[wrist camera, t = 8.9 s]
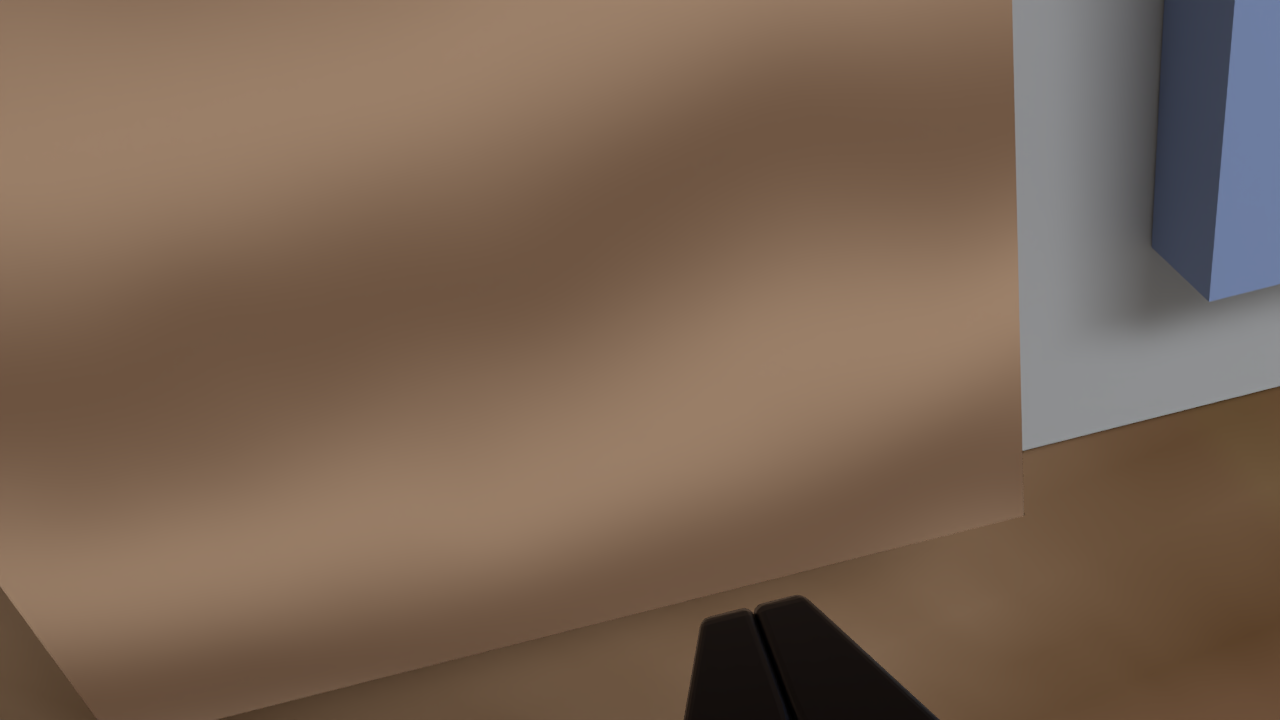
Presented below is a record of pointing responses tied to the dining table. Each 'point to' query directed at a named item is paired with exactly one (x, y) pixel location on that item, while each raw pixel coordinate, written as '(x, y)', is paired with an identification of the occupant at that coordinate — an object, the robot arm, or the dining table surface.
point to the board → (483, 320)
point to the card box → (1219, 145)
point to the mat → (1110, 237)
